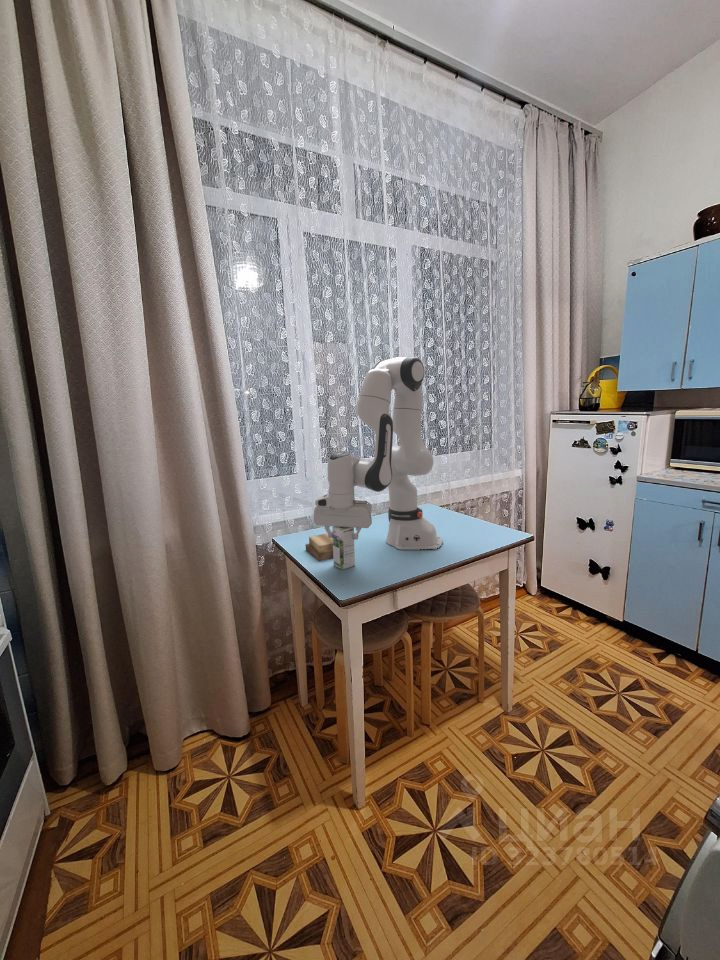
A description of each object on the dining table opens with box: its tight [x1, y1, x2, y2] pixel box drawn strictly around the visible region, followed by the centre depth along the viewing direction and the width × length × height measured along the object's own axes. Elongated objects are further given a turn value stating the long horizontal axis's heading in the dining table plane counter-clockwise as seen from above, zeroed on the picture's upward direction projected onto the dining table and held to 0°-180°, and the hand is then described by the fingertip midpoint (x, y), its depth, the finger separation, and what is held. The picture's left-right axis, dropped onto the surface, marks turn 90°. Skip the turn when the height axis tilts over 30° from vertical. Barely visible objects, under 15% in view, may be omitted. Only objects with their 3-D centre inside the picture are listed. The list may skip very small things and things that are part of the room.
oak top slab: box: [308, 532, 333, 554], centre depth 151 cm, size 11×11×3 cm
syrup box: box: [331, 526, 356, 571], centre depth 137 cm, size 6×6×14 cm
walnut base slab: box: [305, 543, 333, 562], centre depth 151 cm, size 13×13×3 cm
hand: (343, 538), depth 136 cm, fingers closed on syrup box, 8 cm apart
